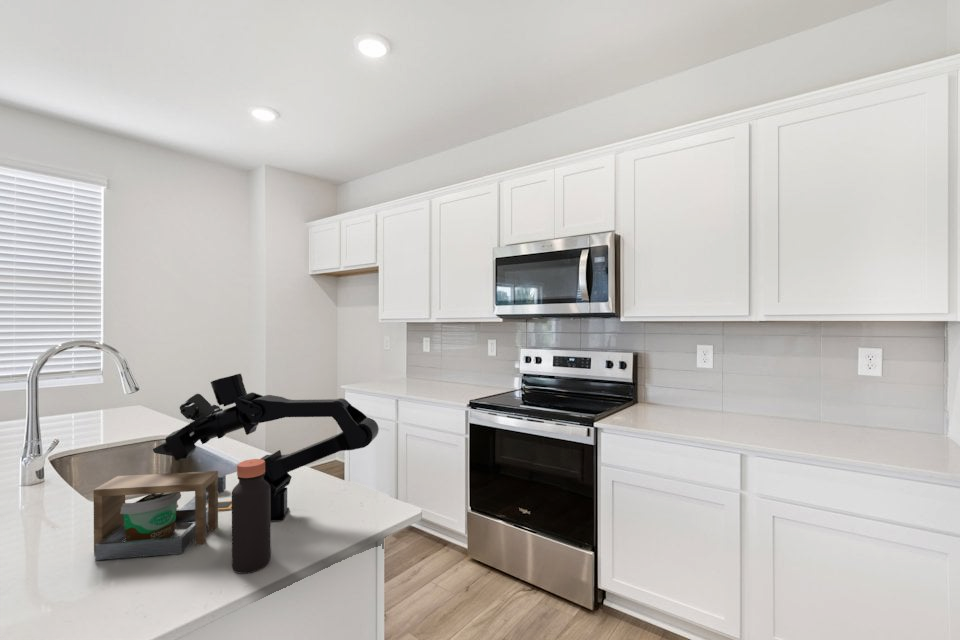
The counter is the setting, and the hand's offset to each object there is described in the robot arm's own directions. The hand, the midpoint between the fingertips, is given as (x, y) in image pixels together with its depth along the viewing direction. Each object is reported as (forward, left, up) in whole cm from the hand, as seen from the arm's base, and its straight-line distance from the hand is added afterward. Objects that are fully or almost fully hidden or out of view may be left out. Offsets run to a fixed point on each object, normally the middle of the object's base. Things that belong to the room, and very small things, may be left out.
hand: (166, 441), depth 111 cm
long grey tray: (-5, +3, -18) cm, 18 cm away
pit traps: (-5, -3, -18) cm, 19 cm away
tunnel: (-5, +13, -18) cm, 23 cm away
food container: (-5, +13, -18) cm, 23 cm away
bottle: (-28, +27, -18) cm, 43 cm away
